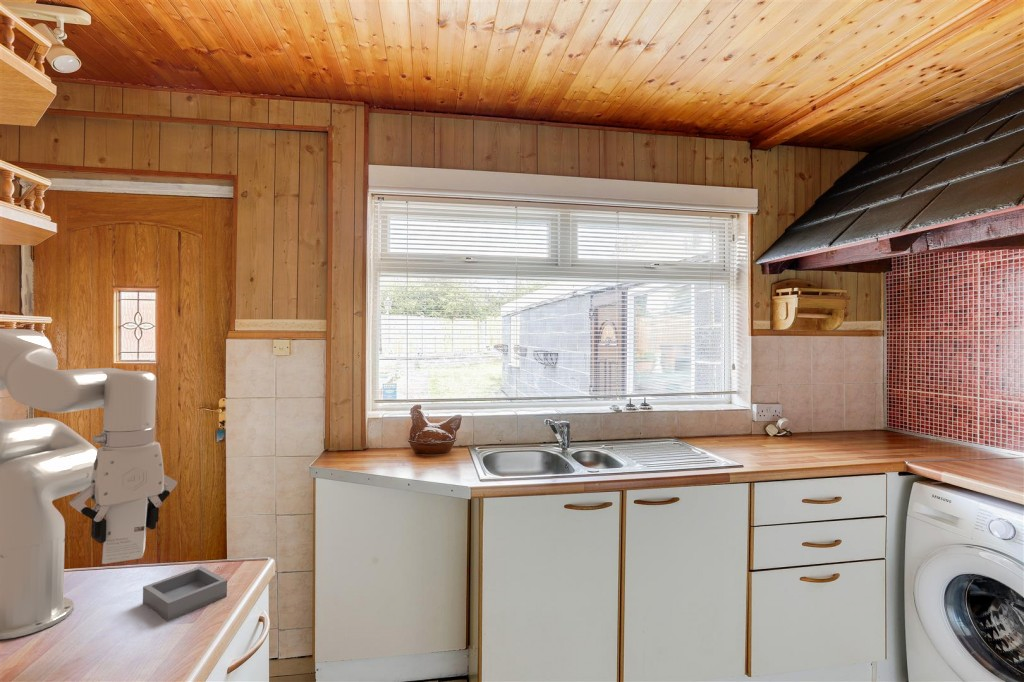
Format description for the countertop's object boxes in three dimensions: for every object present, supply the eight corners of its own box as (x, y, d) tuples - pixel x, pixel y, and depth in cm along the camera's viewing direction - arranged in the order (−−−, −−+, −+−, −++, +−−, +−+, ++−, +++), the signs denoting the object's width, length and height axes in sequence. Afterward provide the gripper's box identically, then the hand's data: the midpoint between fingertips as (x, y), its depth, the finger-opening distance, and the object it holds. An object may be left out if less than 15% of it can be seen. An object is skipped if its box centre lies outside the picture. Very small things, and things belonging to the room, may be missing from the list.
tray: (142, 603, 99) (143, 586, 99) (200, 581, 108) (201, 566, 108) (167, 621, 93) (168, 603, 93) (226, 596, 102) (227, 580, 102)
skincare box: (101, 565, 86) (103, 497, 86) (105, 555, 89) (107, 490, 89) (144, 558, 89) (147, 492, 89) (146, 548, 93) (149, 485, 93)
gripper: (75, 449, 80) (71, 556, 80) (190, 434, 94) (187, 524, 95) (59, 442, 84) (56, 544, 84) (172, 429, 98) (169, 515, 99)
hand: (125, 533), depth 89 cm, fingers closed on skincare box, 7 cm apart
